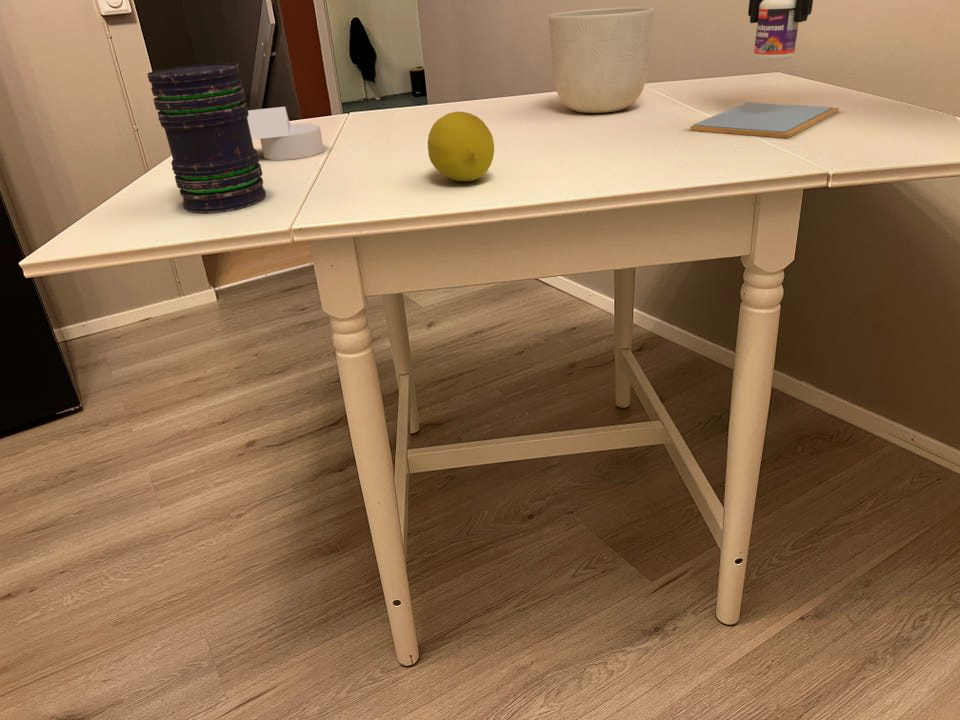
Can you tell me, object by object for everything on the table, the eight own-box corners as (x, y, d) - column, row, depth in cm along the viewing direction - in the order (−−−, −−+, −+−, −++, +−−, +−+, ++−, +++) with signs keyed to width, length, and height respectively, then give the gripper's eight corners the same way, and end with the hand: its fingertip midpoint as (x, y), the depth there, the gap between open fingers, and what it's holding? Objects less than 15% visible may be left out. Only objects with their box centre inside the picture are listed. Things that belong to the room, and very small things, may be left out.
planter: (646, 98, 128) (651, 5, 121) (652, 116, 114) (658, 11, 106) (553, 102, 131) (551, 11, 124) (547, 120, 116) (545, 18, 109)
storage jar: (239, 185, 92) (210, 62, 85) (283, 195, 86) (256, 63, 79) (167, 206, 85) (129, 74, 78) (209, 218, 79) (172, 76, 72)
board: (838, 111, 107) (839, 106, 106) (787, 138, 94) (788, 132, 94) (747, 106, 115) (748, 101, 115) (690, 130, 103) (690, 124, 102)
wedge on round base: (234, 165, 102) (324, 155, 104) (222, 117, 99) (316, 107, 101) (239, 153, 110) (323, 143, 112) (228, 108, 107) (315, 99, 109)
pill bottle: (745, 59, 101) (753, -17, 96) (766, 55, 104) (775, -20, 99) (781, 61, 97) (791, -19, 93) (801, 56, 100) (812, -22, 95)
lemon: (503, 186, 83) (500, 115, 79) (438, 194, 82) (431, 123, 78) (485, 166, 92) (481, 101, 88) (426, 173, 91) (419, 108, 87)
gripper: (720, -128, 92) (707, 25, 101) (860, -149, 82) (833, 23, 91) (744, -126, 97) (730, 20, 106) (879, -145, 87) (852, 18, 96)
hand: (778, 20), depth 98 cm, fingers closed on pill bottle, 5 cm apart
